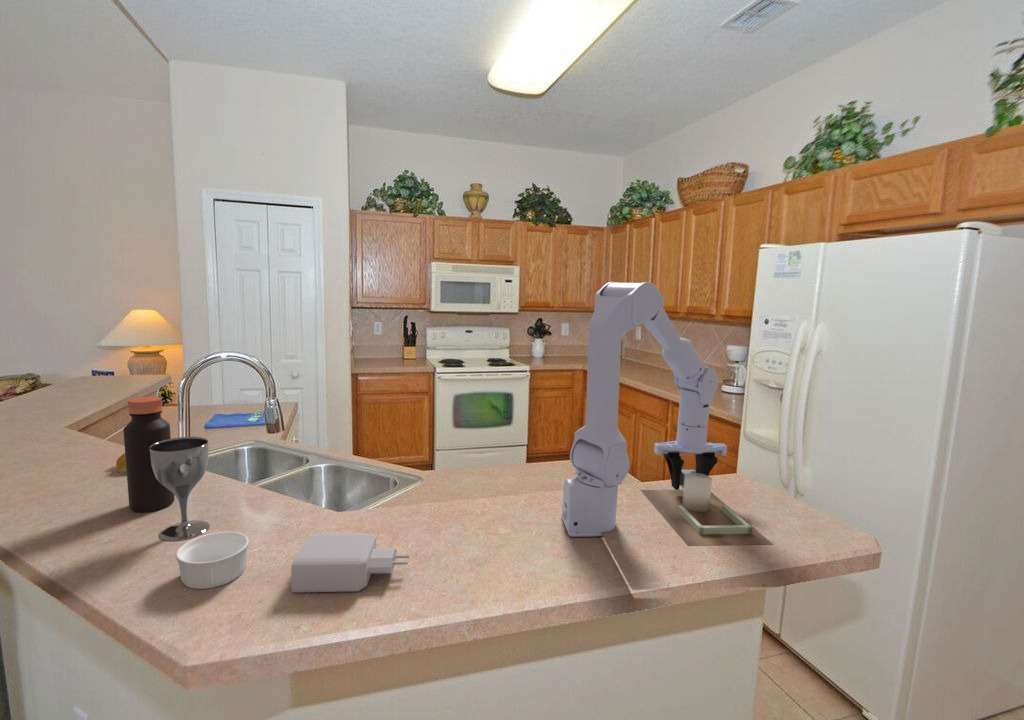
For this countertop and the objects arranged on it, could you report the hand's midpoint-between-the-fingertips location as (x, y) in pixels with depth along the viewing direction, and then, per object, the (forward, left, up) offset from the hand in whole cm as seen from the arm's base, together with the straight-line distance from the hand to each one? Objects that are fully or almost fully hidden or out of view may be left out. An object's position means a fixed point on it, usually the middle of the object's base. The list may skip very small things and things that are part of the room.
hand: (687, 487), depth 102 cm
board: (-1, -8, -3) cm, 9 cm away
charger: (-61, -25, -3) cm, 66 cm away
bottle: (-103, -1, -3) cm, 103 cm away
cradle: (0, -11, -2) cm, 11 cm away
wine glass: (-92, -11, -3) cm, 93 cm away
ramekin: (-81, -24, -3) cm, 85 cm away
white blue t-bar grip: (0, -3, -2) cm, 3 cm away
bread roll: (-118, +19, -3) cm, 119 cm away
